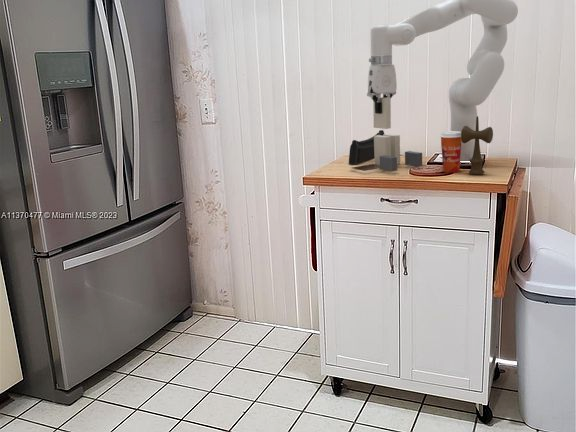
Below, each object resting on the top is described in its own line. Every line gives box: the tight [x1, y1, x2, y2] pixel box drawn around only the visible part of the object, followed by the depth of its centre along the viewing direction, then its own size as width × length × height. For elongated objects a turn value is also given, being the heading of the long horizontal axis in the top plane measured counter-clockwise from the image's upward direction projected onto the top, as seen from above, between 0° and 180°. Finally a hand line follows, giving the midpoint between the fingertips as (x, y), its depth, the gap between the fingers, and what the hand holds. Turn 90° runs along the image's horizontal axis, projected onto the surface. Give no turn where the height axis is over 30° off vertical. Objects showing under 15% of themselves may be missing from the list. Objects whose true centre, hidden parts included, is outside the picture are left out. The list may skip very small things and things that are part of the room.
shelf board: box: [351, 163, 401, 172], centre depth 228 cm, size 9×17×1 cm, turn 119°
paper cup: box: [439, 130, 461, 174], centre depth 212 cm, size 8×8×14 cm
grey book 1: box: [379, 155, 398, 172], centre depth 218 cm, size 7×2×6 cm, turn 29°
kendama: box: [461, 115, 494, 176], centre depth 204 cm, size 6×10×20 cm, turn 52°
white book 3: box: [383, 133, 401, 165], centre depth 229 cm, size 7×2×11 cm, turn 29°
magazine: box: [348, 129, 385, 166], centre depth 243 cm, size 17×3×30 cm
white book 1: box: [372, 96, 392, 130], centre depth 218 cm, size 7×2×11 cm, turn 30°
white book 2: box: [373, 135, 391, 165], centre depth 227 cm, size 7×2×11 cm, turn 29°
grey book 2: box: [404, 150, 423, 168], centre depth 224 cm, size 7×2×6 cm, turn 29°
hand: (381, 112), depth 218 cm, fingers closed on white book 1, 2 cm apart
